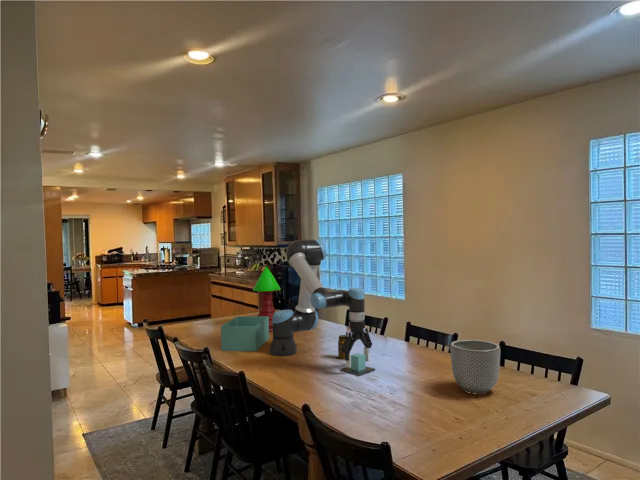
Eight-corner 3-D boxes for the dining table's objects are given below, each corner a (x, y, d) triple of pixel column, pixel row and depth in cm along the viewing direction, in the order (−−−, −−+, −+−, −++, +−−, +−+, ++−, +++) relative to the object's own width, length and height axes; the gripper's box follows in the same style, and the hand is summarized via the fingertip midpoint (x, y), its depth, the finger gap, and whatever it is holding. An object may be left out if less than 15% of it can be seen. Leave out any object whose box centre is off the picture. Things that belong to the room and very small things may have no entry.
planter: (495, 402, 172) (495, 353, 172) (445, 393, 182) (444, 347, 182) (504, 387, 189) (504, 342, 188) (457, 380, 199) (457, 337, 199)
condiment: (352, 358, 237) (352, 336, 236) (340, 361, 232) (339, 338, 232) (344, 355, 243) (344, 333, 243) (332, 358, 238) (331, 335, 238)
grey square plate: (340, 370, 215) (340, 357, 215) (356, 365, 224) (356, 353, 224) (359, 376, 207) (359, 362, 207) (375, 370, 215) (375, 357, 215)
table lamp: (257, 326, 325) (256, 265, 325) (284, 326, 322) (283, 265, 322) (249, 332, 306) (248, 267, 305) (277, 332, 303) (276, 266, 302)
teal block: (350, 369, 215) (350, 355, 215) (357, 366, 219) (357, 353, 219) (358, 371, 211) (358, 357, 211) (365, 368, 215) (365, 354, 215)
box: (221, 351, 257) (220, 326, 257) (237, 338, 289) (237, 316, 289) (256, 351, 255) (255, 326, 255) (269, 338, 287) (268, 316, 286)
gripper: (345, 325, 203) (346, 371, 204) (378, 317, 221) (379, 360, 221) (333, 323, 209) (334, 368, 209) (367, 315, 226) (367, 357, 227)
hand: (357, 364), depth 215 cm, fingers open, 13 cm apart
